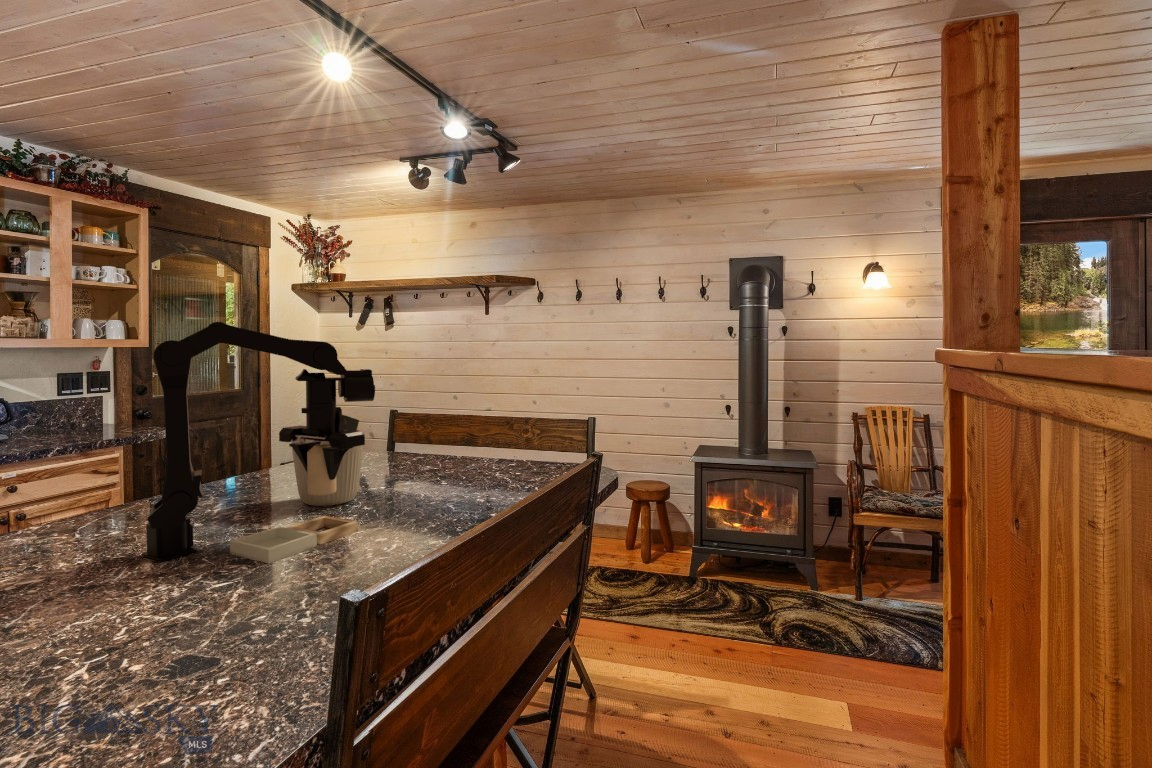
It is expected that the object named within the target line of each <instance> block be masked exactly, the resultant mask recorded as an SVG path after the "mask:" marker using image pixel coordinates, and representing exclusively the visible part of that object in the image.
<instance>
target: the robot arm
mask: <svg viewBox="0 0 1152 768" xmlns="http://www.w3.org/2000/svg"><path fill="white" fill-rule="evenodd" d="M218 344H225V345H226V344H227V345H229V346H235V347H240V348H244V349H249V350H254V351H259V352H263V353H267V354H271V355H276V356H280V357H285V358H287V359H290V360H292V361H294V362H297V363H300V364H302V365H305V366H307V367H310V368H312V369H316V370H319V371H327V372H329V374H333V375H336V376H337V377H332V376H330V377H327V376H326V374H325V372H309V371H308V370H307V369H306V368H303V369H302V370H301V372H300V373H299V374H298V375H297V376H295V378H294V379H295V380H296V381H297V382H305V407H301V410H300V411H301V414H306V416H305V418H306V419H305V421H306V422H305V424H306V425H294V426H285V427H282V428H281V430H280V431H279V433H278V441H279V442H282V443H283V442H284V443H288V445H289V447H291V449H292V448H293V450H294V451H295V453H296V454H297V456H298V457H299V459H300V461H301V462H302V464H303V466H304V468H305V470H306V472H307V452H308V451H309V450H310V449H311V448H312V447H313V446H314V445H316V444H319V445H320V443H321V441H326V442H329V444H330V447H326V448H322V450H323V454H324V459H325V463H326V468H327V472H328V476H329V479H330V480H333V479H335V478H336V475H337V472H338V469H339V466H340V463H341V461H342V458H343V456H344V454H345V453H346V452H347V451H348V450H349V449H351V448H353V447H355V446H361V445H363V446H365V444H366V438H365V435H364V434H365V433H364V432H362V431H361V430H359V431H357V430H358V427H359V423H360V420H359V419H357V418H353V417H351V416H348V415H345V414H343V410H342V408H341V406H337V393H338V397H339V398H343V400H344V401H343V402H345V403H350V402H351V403H352V402H353V403H354V402H373V401H374V400H375V396H376V394H375V393H376V385H375V382H374V381H375V380H374V377H373V370H372V369H368V368H365V369H358V370H357V369H356V370H355V369H354V370H352V369H351V370H350V369H348V370H347V369H346V366H344V365H343V364H342V363H341V362H340V361H339V359H338V356H339V355H338V352H337V349H336V348H335V346H334V345H332V344H331V342H326V341H317V340H304V339H303V340H302V339H291V338H290V339H289V338H284V337H281V336H278V335H277V336H276V335H272V334H269V333H263V332H260V331H255V330H251V329H246V328H243V327H237V326H233V325H229V324H227V323H225V322H222V321H215V322H214V321H213V322H211V323H210V324H209V325H208V326H206V327H204V328H203V329H201V330H200V329H199V330H198V331H196V332H194V333H192V334H191V335H188V336H187V337H185V338H183V339H180V340H175V339H171V340H166V341H163V342H161V343H159V345H157V346H156V347H155V349H154V352H153V360H154V361H153V362H154V365H155V369H156V373H157V376H158V380H159V383H160V386H161V388H162V392H163V408H164V409H163V410H164V429H165V448H166V471H165V477H164V482H163V488H162V493H161V495H162V496H161V498H160V499H159V500H158V501H157V502H156V503H155V504H154V505H152V506H151V509H150V511H149V513H148V516H147V522H148V523H146V524H145V528H146V529H145V531H146V533H145V534H146V551H144V552H142V553H141V557H146V558H148V559H153V560H156V561H159V562H164V561H168V560H172V559H174V558H178V557H181V556H185V555H188V554H192V553H194V552H197V551H198V550H197V548H196V547H193V546H194V525H193V524H192V523H191V522H192V521H191V517H187V515H188V514H190V513H191V512H192V511H194V510H195V509H196V508H197V507H198V503H199V498H203V496H204V495H203V493H204V488H203V486H202V482H201V480H202V473H203V469H198V470H194V467H193V465H192V464H193V463H192V460H191V459H192V458H191V441H190V440H191V439H190V422H189V421H190V420H189V403H188V402H189V401H188V387H189V382H190V381H189V380H190V375H191V369H192V363H193V358H194V357H196V356H198V355H200V354H201V353H202V354H203V352H206V351H207V350H209V349H211V348H213V347H215V346H216V345H218ZM338 376H339V377H338ZM363 433H364V434H363ZM291 440H292V443H291ZM314 440H317V441H314ZM307 473H308V472H307Z"/></svg>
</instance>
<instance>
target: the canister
mask: <svg viewBox="0 0 1152 768" xmlns="http://www.w3.org/2000/svg"><path fill="white" fill-rule="evenodd" d="M357 431H360V430H359V429H357ZM362 433H363V434H364V435H365V439H366V438H367V434H366V433H364V432H362ZM314 441H317V440H314ZM291 443H292V440H291V442H290V444H291ZM323 444H329V442H326V441H321V443H320V445H323ZM291 449H292V450H291V451H292V458H293V465H294V466H293V467H294V474H295V480H296V487H297V492H298V496H299V498H300V500H301V501H302V502H303V503H305V505H309V506H314V507H315V506H317V507H326V506H327V507H328V506H337V505H341V504H342V505H343V504H345V503H350V501H352V500H354V499H355V497H356V496H357V494H358V491H359V486H360V478H361V469H362V463H363V462H362V461H363V454H364V453H363V452H364V445H361V446H355V447H353V448H351V449H349V450H348V451H347V452H346V453H345V454H344V456H343V458H342V461H341V463H340V466H339V469H338V472H337V475H336V492H335V493H332V494H328V495H310V494H308V473H307V472H306V470H305V468H304V466H303V464H302V462H301V461H300V459H299V457H298V456H297V454H296V453H295V451H294V450H293V448H292V447H291Z"/></svg>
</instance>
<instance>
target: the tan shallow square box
mask: <svg viewBox="0 0 1152 768" xmlns="http://www.w3.org/2000/svg"><path fill="white" fill-rule="evenodd" d="M285 528H290V529H295V530H300V531H305V532H310V533H315V534H317V545H323V544H326V543H329V542H331V541H334V540H337V539H340V538H343V537H345V536H348V535H351V534H354V533H357V532H359V521H355V520H349V519H343V518H339V517H332V516H328V515H322V516H319V517H316V518H315V517H314V518H311V519H310V520H305V521H303V522H299V523H295V524H293V525H289V526H286V527H285ZM322 528H327V529H325V530H323V531H317V530H319V529H322ZM328 528H329V529H328Z"/></svg>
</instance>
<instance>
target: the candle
mask: <svg viewBox="0 0 1152 768" xmlns="http://www.w3.org/2000/svg"><path fill="white" fill-rule="evenodd" d="M326 447H330V444H323V445H319V444H316V445H314V446H313V447H312V448H311V449H310V450H309V451H308V452H307V472H308V494H310V495H328V494H332V493H335V492H336V478H335V479H333V480H330V479H329V476H328V472H327V468H326V463H325V459H324V454H323V450H322V448H326Z"/></svg>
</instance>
